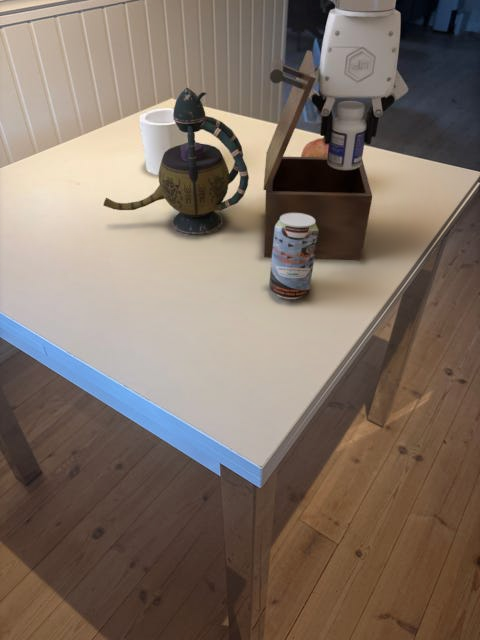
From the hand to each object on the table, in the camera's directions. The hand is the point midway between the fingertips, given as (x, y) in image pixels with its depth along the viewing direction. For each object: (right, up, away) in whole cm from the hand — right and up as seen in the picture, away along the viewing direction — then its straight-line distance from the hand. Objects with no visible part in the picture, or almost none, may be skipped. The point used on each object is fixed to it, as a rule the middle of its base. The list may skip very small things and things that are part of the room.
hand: (346, 139), depth 74 cm
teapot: (-28, -10, +15) cm, 33 cm away
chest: (-4, -13, +12) cm, 18 cm away
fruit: (+1, 0, +26) cm, 26 cm away
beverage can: (-9, -23, 0) cm, 24 cm away
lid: (-9, +2, -1) cm, 9 cm away
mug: (-32, +8, +35) cm, 48 cm away
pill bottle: (0, -3, +3) cm, 4 cm away
